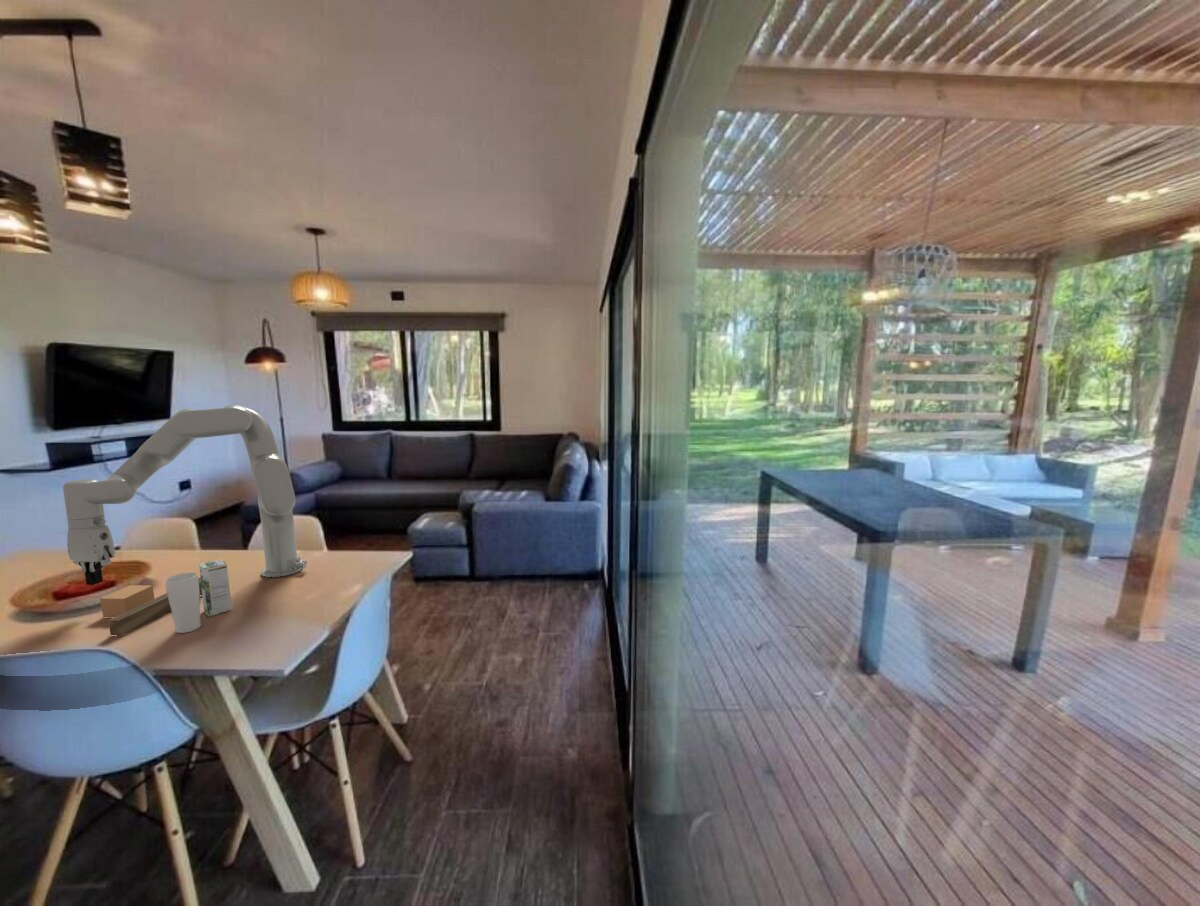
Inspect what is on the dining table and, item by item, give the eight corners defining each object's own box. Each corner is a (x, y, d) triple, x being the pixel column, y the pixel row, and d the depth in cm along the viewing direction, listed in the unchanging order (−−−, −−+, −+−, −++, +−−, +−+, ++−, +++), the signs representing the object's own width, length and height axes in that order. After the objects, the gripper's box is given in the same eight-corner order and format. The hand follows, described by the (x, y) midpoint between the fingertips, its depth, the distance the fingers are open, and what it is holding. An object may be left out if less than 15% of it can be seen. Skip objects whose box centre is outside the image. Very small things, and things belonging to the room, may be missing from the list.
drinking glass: (169, 637, 134) (161, 584, 132) (176, 626, 140) (169, 574, 138) (201, 631, 137) (194, 579, 135) (206, 621, 143) (200, 570, 141)
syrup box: (203, 611, 149) (197, 564, 147) (227, 604, 153) (222, 558, 151) (208, 617, 145) (202, 568, 143) (233, 610, 150) (227, 563, 147)
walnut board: (209, 591, 162) (207, 578, 162) (121, 636, 135) (118, 620, 134) (200, 591, 162) (199, 578, 162) (110, 636, 135) (108, 620, 134)
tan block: (155, 604, 154) (152, 585, 153) (127, 618, 145) (124, 598, 144) (132, 604, 154) (129, 585, 153) (103, 618, 145) (100, 598, 144)
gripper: (124, 520, 149) (131, 579, 152) (77, 518, 150) (85, 577, 153) (96, 527, 142) (104, 589, 144) (48, 525, 143) (56, 587, 145)
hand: (94, 583), depth 148 cm, fingers closed
